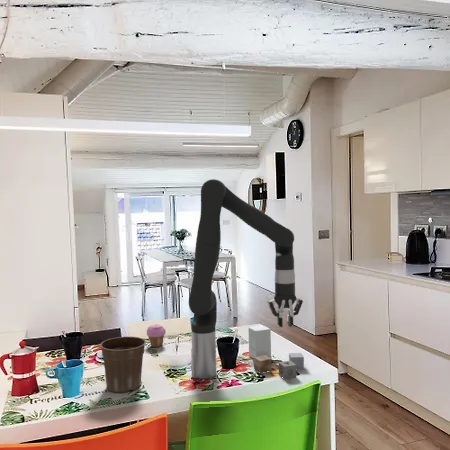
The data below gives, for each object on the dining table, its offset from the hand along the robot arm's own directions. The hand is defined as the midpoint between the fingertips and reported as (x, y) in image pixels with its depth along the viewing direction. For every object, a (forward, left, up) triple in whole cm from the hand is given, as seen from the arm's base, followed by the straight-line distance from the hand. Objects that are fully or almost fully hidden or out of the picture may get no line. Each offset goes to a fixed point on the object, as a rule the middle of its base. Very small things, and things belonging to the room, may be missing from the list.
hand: (285, 326), depth 166 cm
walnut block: (-7, +8, -19) cm, 22 cm away
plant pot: (-60, +5, -19) cm, 63 cm away
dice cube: (+1, 0, -19) cm, 19 cm away
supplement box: (-4, +23, -19) cm, 30 cm away
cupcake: (-47, +50, -19) cm, 71 cm away
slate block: (+7, +8, -19) cm, 22 cm away
